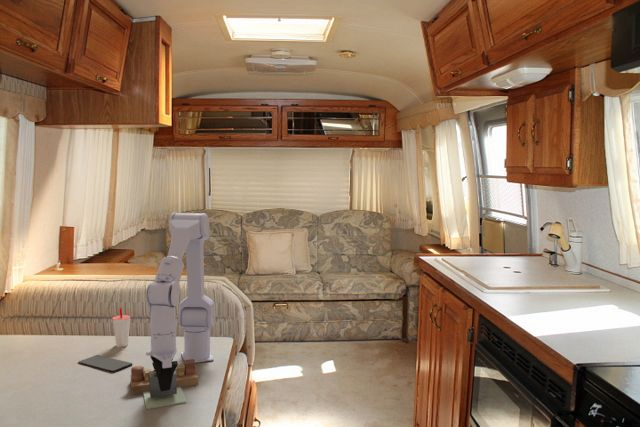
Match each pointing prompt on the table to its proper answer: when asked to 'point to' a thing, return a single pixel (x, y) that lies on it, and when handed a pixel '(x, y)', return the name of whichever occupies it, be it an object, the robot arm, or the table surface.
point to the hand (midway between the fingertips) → (164, 386)
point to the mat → (164, 399)
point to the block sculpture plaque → (183, 375)
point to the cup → (121, 329)
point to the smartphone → (105, 363)
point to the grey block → (155, 388)
